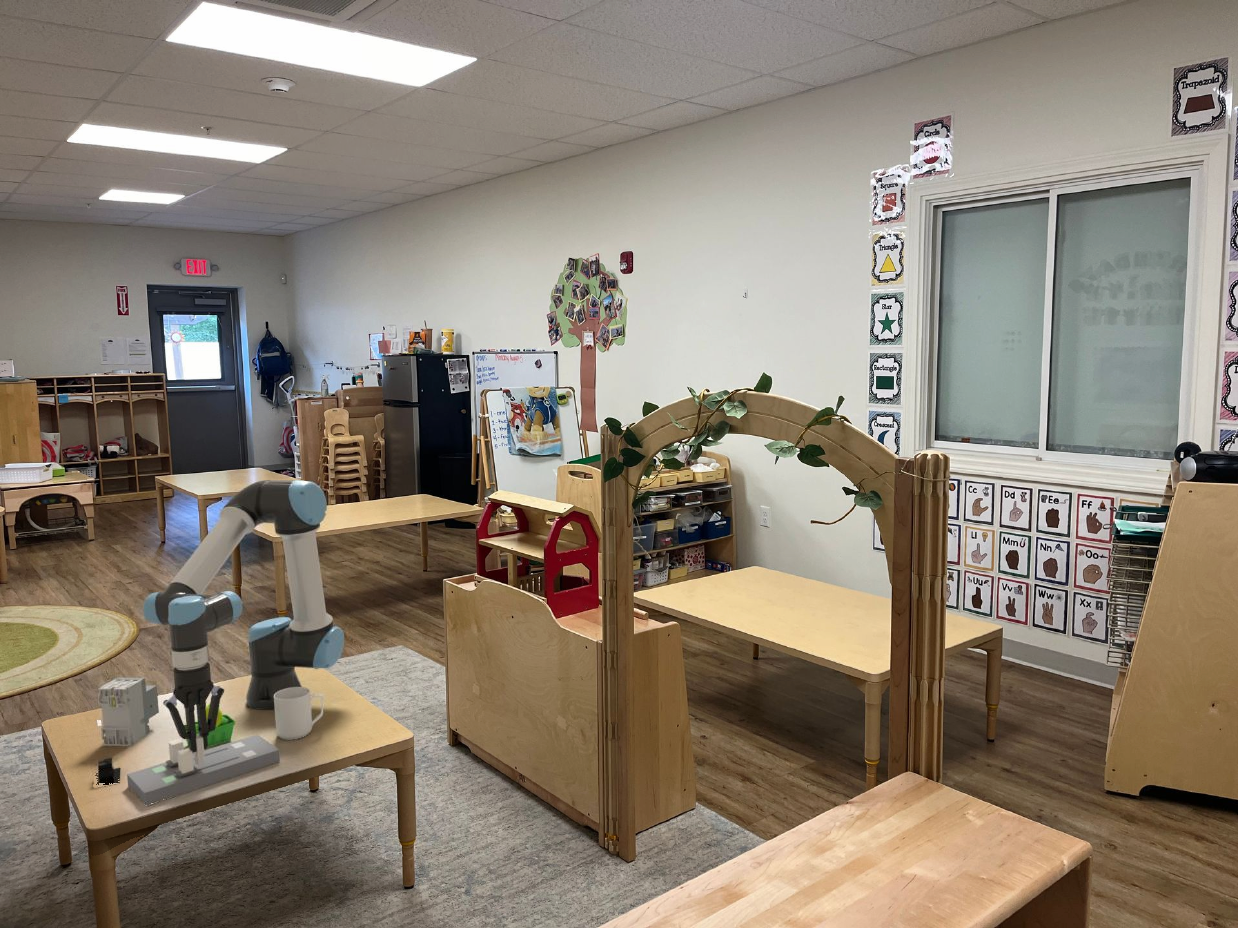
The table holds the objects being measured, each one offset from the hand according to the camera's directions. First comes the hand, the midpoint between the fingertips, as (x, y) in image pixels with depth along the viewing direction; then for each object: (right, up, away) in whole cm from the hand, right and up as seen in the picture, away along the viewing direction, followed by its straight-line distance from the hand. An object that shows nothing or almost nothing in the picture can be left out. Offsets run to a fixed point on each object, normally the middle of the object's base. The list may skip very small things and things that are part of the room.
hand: (200, 763), depth 206 cm
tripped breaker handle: (-2, -1, -2) cm, 3 cm away
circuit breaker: (-31, -2, +29) cm, 42 cm away
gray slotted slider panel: (-1, -4, +5) cm, 6 cm away
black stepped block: (-24, -5, +4) cm, 25 cm away
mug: (+14, -1, +27) cm, 30 cm away
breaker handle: (-7, -1, +3) cm, 8 cm away
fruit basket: (-8, -2, +22) cm, 23 cm away
